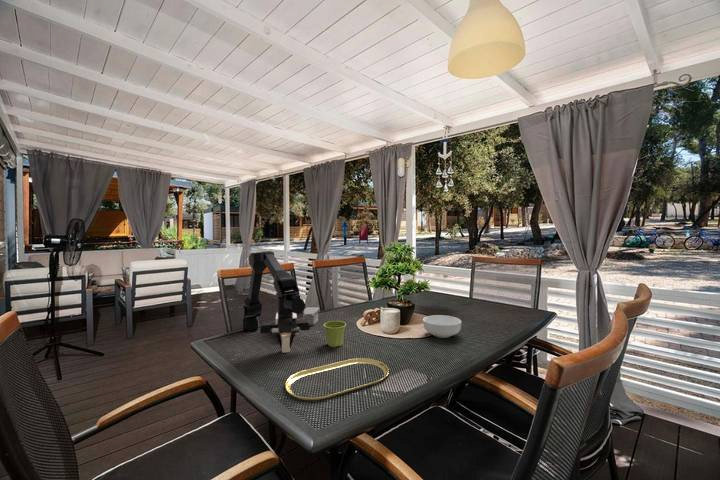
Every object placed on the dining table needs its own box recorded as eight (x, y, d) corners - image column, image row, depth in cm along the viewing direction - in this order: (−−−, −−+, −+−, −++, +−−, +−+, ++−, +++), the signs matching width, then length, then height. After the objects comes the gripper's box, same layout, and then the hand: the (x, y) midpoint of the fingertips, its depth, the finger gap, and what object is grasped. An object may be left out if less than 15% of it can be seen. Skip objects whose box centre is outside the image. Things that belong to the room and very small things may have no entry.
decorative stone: (317, 318, 172) (299, 319, 169) (317, 305, 172) (299, 306, 169) (323, 326, 159) (303, 327, 155) (323, 312, 158) (303, 313, 155)
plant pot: (343, 349, 127) (342, 328, 127) (320, 348, 129) (320, 327, 129) (348, 341, 136) (348, 321, 136) (327, 339, 138) (327, 320, 138)
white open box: (275, 336, 143) (275, 318, 143) (276, 329, 153) (276, 312, 152) (297, 334, 145) (296, 317, 145) (296, 327, 155) (296, 311, 154)
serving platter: (277, 381, 102) (277, 376, 102) (369, 358, 120) (369, 354, 120) (296, 410, 86) (296, 404, 86) (400, 378, 103) (400, 374, 103)
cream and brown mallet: (279, 352, 124) (279, 337, 123) (280, 337, 142) (280, 323, 141) (292, 351, 125) (292, 336, 124) (292, 336, 143) (292, 323, 142)
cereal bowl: (457, 329, 151) (457, 314, 151) (465, 342, 135) (465, 325, 135) (421, 328, 153) (421, 314, 153) (424, 340, 137) (424, 324, 136)
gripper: (258, 315, 115) (259, 358, 116) (310, 312, 119) (310, 353, 120) (261, 307, 126) (261, 346, 126) (308, 305, 130) (309, 342, 130)
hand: (285, 347), depth 125 cm, fingers closed on cream and brown mallet, 3 cm apart
